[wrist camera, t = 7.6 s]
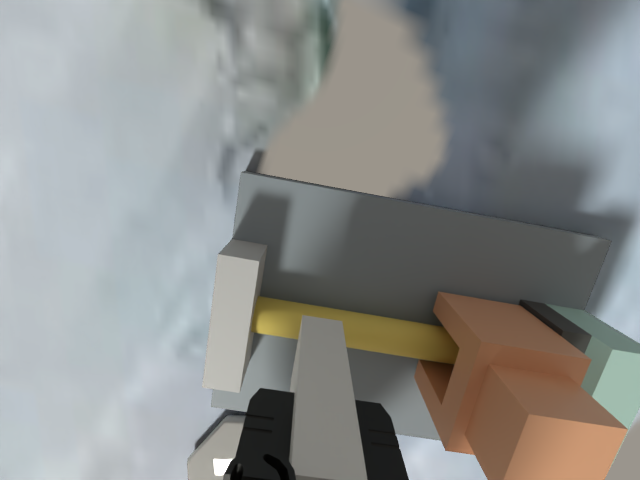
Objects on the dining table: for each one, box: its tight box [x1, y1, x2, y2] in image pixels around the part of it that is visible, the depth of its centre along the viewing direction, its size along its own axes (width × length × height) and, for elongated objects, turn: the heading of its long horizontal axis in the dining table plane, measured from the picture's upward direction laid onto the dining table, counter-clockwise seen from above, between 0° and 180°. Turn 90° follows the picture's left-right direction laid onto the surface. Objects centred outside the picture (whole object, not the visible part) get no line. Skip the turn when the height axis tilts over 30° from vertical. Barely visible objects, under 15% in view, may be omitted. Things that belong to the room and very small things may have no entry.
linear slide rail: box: [202, 171, 640, 464], centre depth 16 cm, size 12×17×5 cm
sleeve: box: [414, 291, 628, 480], centre depth 14 cm, size 5×4×7 cm
